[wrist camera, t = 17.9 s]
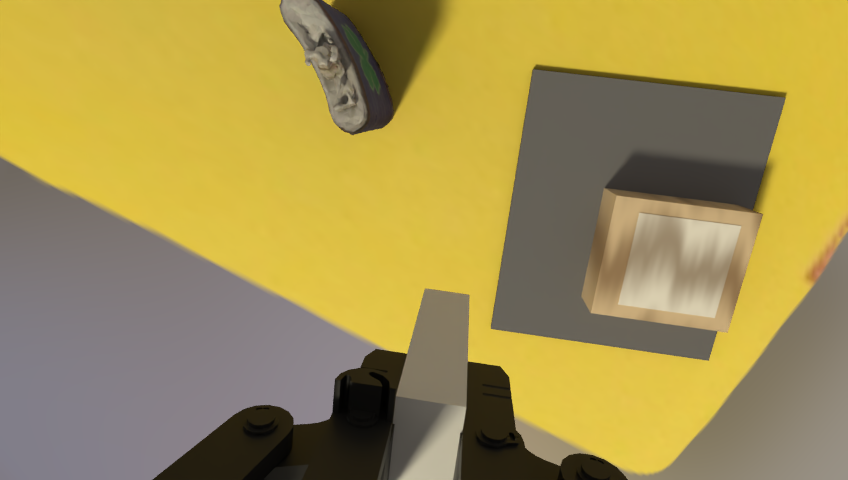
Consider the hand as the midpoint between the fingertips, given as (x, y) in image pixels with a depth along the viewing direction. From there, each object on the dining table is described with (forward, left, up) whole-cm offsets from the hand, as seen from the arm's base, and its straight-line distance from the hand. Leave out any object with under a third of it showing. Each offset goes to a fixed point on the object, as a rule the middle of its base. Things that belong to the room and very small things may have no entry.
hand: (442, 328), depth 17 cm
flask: (-9, -9, -25) cm, 28 cm away
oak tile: (+2, +11, -22) cm, 25 cm away
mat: (0, +13, -24) cm, 28 cm away
